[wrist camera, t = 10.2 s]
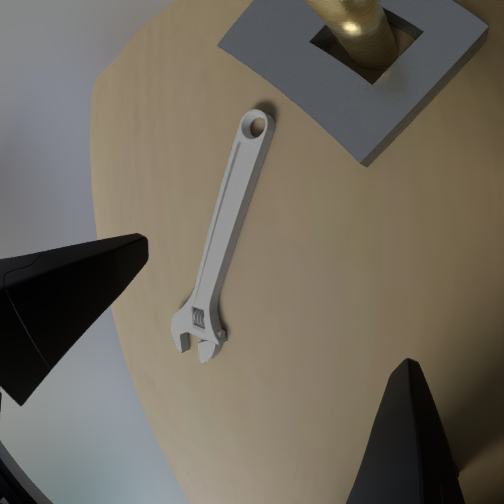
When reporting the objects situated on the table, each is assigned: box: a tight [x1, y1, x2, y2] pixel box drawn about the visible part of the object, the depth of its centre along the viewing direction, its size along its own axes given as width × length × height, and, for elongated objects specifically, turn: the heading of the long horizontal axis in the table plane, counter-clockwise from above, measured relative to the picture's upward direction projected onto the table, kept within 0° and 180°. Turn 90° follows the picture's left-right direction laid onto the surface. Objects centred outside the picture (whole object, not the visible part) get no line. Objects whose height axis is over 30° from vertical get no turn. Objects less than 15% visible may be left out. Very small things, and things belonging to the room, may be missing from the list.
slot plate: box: [217, 0, 489, 167], centre depth 14 cm, size 16×14×2 cm
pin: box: [305, 0, 398, 70], centre depth 10 cm, size 4×4×10 cm
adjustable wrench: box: [171, 110, 275, 363], centre depth 24 cm, size 25×6×2 cm, turn 154°
